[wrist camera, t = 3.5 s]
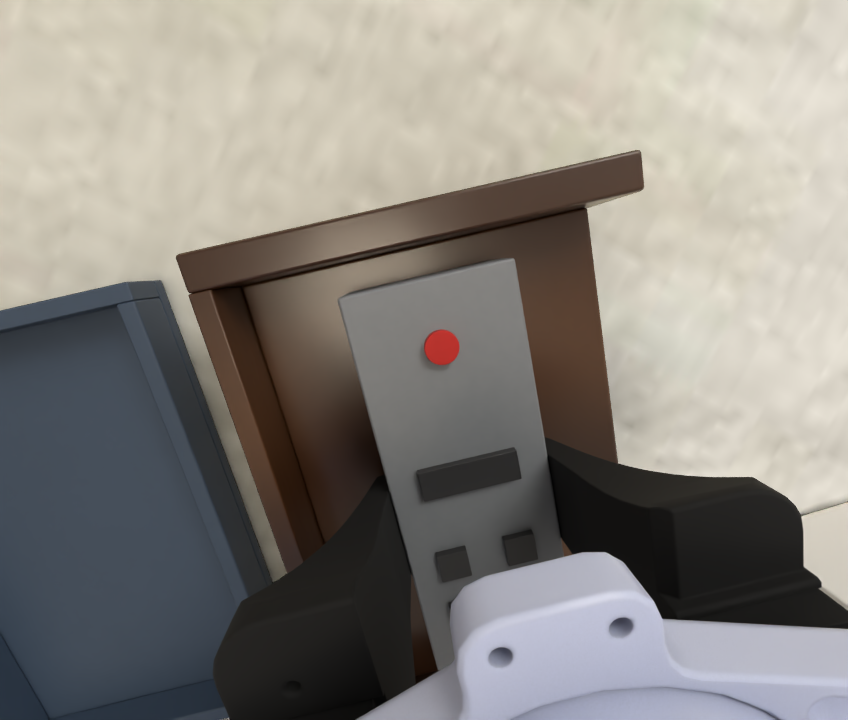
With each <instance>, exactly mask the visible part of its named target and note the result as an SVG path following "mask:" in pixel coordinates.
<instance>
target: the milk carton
mask: <svg viewBox="0 0 848 720" xmlns="http://www.w3.org/2000/svg"><path fill="white" fill-rule="evenodd" d="M801 518H802V524H803V538H804V567H805V568H806V569H807V570H809V571H810V572H812V573H813V574H814V575H816V576H817V577H818V578H819V579H820V581H821V582H822V588H819V589H820V590H821V591H823V592H824V593H825V594H827V595H828V596H829V597H831V598H832V599H833V600H835V601H836V602H837V603H838V604H840V605H841V606H842V607H844V608H845V609H846V610H848V502H847V503H844V504H840V505H837V506H833V507H830V508H827V509H823V510H820V511H817V512H813V513H810V514H807V515H803V516H801Z"/></svg>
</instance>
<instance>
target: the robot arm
mask: <svg viewBox="0 0 848 720" xmlns="http://www.w3.org/2000/svg"><path fill="white" fill-rule="evenodd" d="M544 438H545V444H546V450H547V456H548V462H549V468H550V474H551V480H552V486H553V492H554V498H555V504H556V510H557V516H558V523H559V529H560V535H561V538H562V540H563V541H564V543H565V544H566V546H567V547H568V548H569V550H570V551H571V553H572V554H573V555H570V556H565V557H561V558H557V559H553V560H549V561H545V562H541V563H537V564H533V565H528V566H524V567H520V568H516V569H512V570H508V571H504V572H500V573H496V574H491V575H487V576H484V577H482V578H480V579H478V580H476V581H474V582H472V583H470V584H468V585H466V586H464V587H463V588H462V590H461V591H460V593H459V594H458V595H457V597H456V598H455V599H454V601H453V602H452V603H451V610H450V630H451V637H452V643H453V650H454V657H455V659H454V661H453V662H452V664H450V665H448V666H447V667H445V668H443V669H441V670H440V671H438V672H436V673H435V674H433V675H431V676H429V677H428V678H426V679H424V680H423V681H421V682H419V683H417V684H416V681H415V670H414V659H413V647H412V635H411V569H410V566H409V562H408V558H407V555H406V551H405V547H404V544H403V540H402V536H401V532H400V529H399V525H398V521H397V518H396V514H395V510H394V507H393V503H392V499H391V496H390V492H389V488H388V485H387V481H386V477H385V475H382V476H378V477H377V478H376V480H375V481H374V483H373V484H372V486H371V487H370V489H369V490H368V492H367V493H366V495H365V496H364V498H363V499H362V501H361V502H360V504H359V505H358V506H357V508H356V509H355V510H354V512H353V513H352V514H351V515H350V517H349V518H348V519H347V520H346V522H345V523H344V524H343V525H342V527H341V528H340V529H339V530H338V531H337V532H336V533H335V534H334V535H333V536H332V537H331V538H330V539H329V540H328V541H327V542H326V543H325V544H324V545H323V546H322V547H321V548H320V549H318V550H317V551H316V552H315V553H314V554H312V555H311V556H310V557H309V558H308V559H307V560H305V561H304V562H303V563H302V564H300V565H299V566H298V567H296V568H295V569H294V570H292V571H291V572H289V573H288V574H286V575H285V576H283V577H282V578H280V579H279V580H277V581H276V582H274V583H273V584H271V585H269V586H267V587H266V588H264V589H262V590H260V591H259V592H257V593H255V594H253V595H252V596H250V597H248V598H246V599H244V600H242V601H241V603H240V605H239V606H238V608H237V610H236V612H235V614H234V616H233V618H232V620H231V623H230V625H229V627H228V629H227V631H226V634H225V636H224V638H223V640H222V642H221V645H220V647H219V649H218V651H217V654H216V656H215V658H214V663H213V678H214V681H215V685H216V688H217V691H218V693H219V695H220V698H221V700H222V702H223V704H224V707H225V709H226V711H227V714H228V716H229V718H230V720H848V610H846V609H845V608H844V607H842V606H841V605H840V604H838V603H837V602H836V601H835V600H833V599H832V598H831V597H829V596H828V595H827V594H825V593H824V592H823V591H821V590H820V589H819V588H822V582H821V581H820V579H819V578H818V577H817V576H816V575H814V574H813V573H812V572H810V571H809V570H807V569H806V568H805V567H804V538H803V524H802V518H801V515H800V513H799V511H798V510H797V508H796V506H795V505H794V504H793V503H792V502H791V501H790V500H789V499H788V498H787V497H786V496H784V495H782V494H780V493H779V492H777V491H775V490H774V489H772V488H770V487H768V486H767V485H765V484H763V483H762V482H760V481H758V480H757V479H755V478H753V477H698V476H684V475H674V474H667V473H660V472H653V471H648V470H642V469H638V468H633V467H629V466H625V465H621V464H617V463H614V462H610V461H607V460H604V459H601V458H598V457H595V456H592V455H590V454H587V453H584V452H582V451H579V450H577V449H574V448H572V447H569V446H567V445H564V444H562V443H560V442H557V441H555V440H552V439H549V438H546V437H544Z"/></svg>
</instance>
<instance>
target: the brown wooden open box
mask: <svg viewBox="0 0 848 720" xmlns="http://www.w3.org/2000/svg"><path fill="white" fill-rule="evenodd" d="M643 189H644V180H643V169H642V158H641V152H640V151H639V150H635V151H630V152H626V153H621V154H617V155H613V156H608V157H604V158H599V159H595V160H591V161H586V162H582V163H577V164H573V165H569V166H564V167H560V168H555V169H551V170H547V171H542V172H538V173H533V174H529V175H525V176H520V177H516V178H511V179H507V180H503V181H498V182H494V183H489V184H485V185H481V186H476V187H472V188H467V189H463V190H459V191H454V192H450V193H445V194H441V195H436V196H432V197H428V198H423V199H419V200H414V201H410V202H406V203H401V204H397V205H392V206H388V207H384V208H379V209H375V210H370V211H366V212H362V213H357V214H353V215H348V216H344V217H340V218H335V219H331V220H326V221H322V222H318V223H313V224H309V225H304V226H300V227H296V228H291V229H287V230H282V231H278V232H274V233H269V234H265V235H260V236H256V237H252V238H247V239H243V240H238V241H234V242H230V243H225V244H221V245H216V246H212V247H208V248H203V249H199V250H194V251H190V252H186V253H181V254H178V255H177V256H176V260H177V262H178V265H179V268H180V271H181V274H182V276H183V279H184V282H185V285H186V288H187V290H188V292H189V293H192V294H190V295H189V298H190V301H191V304H192V307H193V310H194V313H195V315H196V318H197V321H198V324H199V327H200V329H201V332H202V335H203V338H204V341H205V343H206V346H207V349H208V352H209V355H210V358H211V360H212V363H213V366H214V369H215V372H216V374H217V377H218V380H219V383H220V386H221V388H222V391H223V394H224V397H225V400H226V403H227V405H228V408H229V411H230V414H231V417H232V419H233V422H234V425H235V428H236V431H237V433H238V436H239V439H240V442H241V445H242V448H243V450H244V453H245V456H246V459H247V462H248V464H249V467H250V470H251V473H252V476H253V478H254V481H255V484H256V487H257V490H258V493H259V495H260V498H261V501H262V504H263V507H264V509H265V512H266V515H267V518H268V521H269V523H270V526H271V529H272V532H273V535H274V538H275V540H276V543H277V546H278V549H279V552H280V554H281V557H282V560H283V563H284V566H285V568H286V571H287V574H288V573H289V572H291V571H292V570H294V569H295V568H296V567H298V566H299V565H300V564H302V563H303V562H304V561H305V560H307V559H308V558H309V557H310V556H311V555H312V554H314V553H315V552H316V551H317V550H318V549H320V548H321V547H322V546H323V545H324V544H325V543H326V542H327V541H328V540H329V539H330V538H331V537H332V536H333V535H334V534H335V533H336V532H337V531H338V530H339V529H340V528H341V527H342V525H343V524H344V523H345V522H346V520H347V519H348V518H349V517H350V515H351V514H352V513H353V512H354V510H355V509H356V508H357V506H358V505H359V504H360V502H361V501H362V499H363V498H364V496H365V495H366V493H367V492H368V490H369V489H370V487H371V486H372V484H373V483H374V481H375V480H376V478H377V477H378V476H382V475H385V474H384V470H383V466H382V463H381V459H380V455H379V451H378V448H377V444H376V440H375V437H374V433H373V429H372V426H371V422H370V418H369V415H368V411H367V407H366V404H365V400H364V396H363V393H362V389H361V385H360V381H359V378H358V374H357V370H356V367H355V363H354V359H353V356H352V352H351V348H350V345H349V341H348V337H347V334H346V330H345V326H344V323H343V319H342V315H341V312H340V308H339V304H338V299H339V298H340V297H342V296H344V295H346V294H348V293H350V292H353V291H358V290H362V289H366V288H371V287H375V286H379V285H384V284H388V283H393V282H397V281H401V280H406V279H410V278H414V277H419V276H423V275H427V274H432V273H436V272H440V271H445V270H449V269H453V268H458V267H462V266H466V265H471V264H475V263H479V262H484V261H488V260H494V259H505V258H514V260H515V264H516V270H517V276H518V282H519V288H520V294H521V300H522V306H523V312H524V318H525V324H526V330H527V336H528V342H529V348H530V354H531V360H532V366H533V372H534V378H535V384H536V390H537V396H538V402H539V408H540V414H541V420H542V426H543V432H544V437H546V438H549V439H552V440H555V441H557V442H560V443H562V444H564V445H567V446H569V447H572V448H574V449H577V450H579V451H582V452H584V453H587V454H590V455H592V456H595V457H598V458H601V459H604V460H607V461H610V462H614V463H617V464H618V459H617V451H616V443H615V435H614V427H613V418H612V410H611V402H610V394H609V386H608V378H607V369H606V361H605V353H604V345H603V337H602V329H601V320H600V312H599V304H598V296H597V288H596V280H595V272H594V263H593V255H592V247H591V239H590V231H589V223H588V214H587V209H586V208H589V207H592V206H595V205H598V204H602V203H605V202H608V201H611V200H614V199H617V198H621V197H624V196H627V195H630V194H633V193H636V192H639V191H641V190H643ZM561 541H562V547H563V553H564V557H565V556H570V555H573V554H572V553H571V551H570V550H569V548H568V547H567V546H566V544H565V543H564V541H563V540H562V538H561ZM411 635H412V647H413V659H414V670H415V681H416V684H417V683H419V682H421V681H423V680H424V679H426V678H428V677H429V676H431V675H433V674H435V673H436V672H438V669H437V665H436V661H435V658H434V654H433V650H432V647H431V643H430V639H429V636H428V632H427V628H426V625H425V621H424V617H423V614H422V610H421V606H420V602H419V599H418V595H417V591H416V588H415V584H414V580H413V577H412V573H411Z"/></svg>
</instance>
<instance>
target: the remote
mask: <svg viewBox="0 0 848 720" xmlns="http://www.w3.org/2000/svg"><path fill="white" fill-rule="evenodd" d="M338 304H339V308H340V312H341V315H342V319H343V323H344V326H345V330H346V334H347V337H348V341H349V345H350V348H351V352H352V356H353V359H354V363H355V367H356V370H357V374H358V378H359V381H360V385H361V389H362V393H363V396H364V400H365V404H366V407H367V411H368V415H369V418H370V422H371V426H372V429H373V433H374V437H375V440H376V444H377V448H378V451H379V455H380V459H381V463H382V466H383V470H384V474H385V477H386V481H387V485H388V488H389V492H390V496H391V499H392V503H393V507H394V510H395V514H396V518H397V521H398V525H399V529H400V532H401V536H402V540H403V544H404V547H405V551H406V555H407V558H408V562H409V566H410V569H411V573H412V577H413V580H414V584H415V588H416V591H417V595H418V599H419V602H420V606H421V610H422V614H423V617H424V621H425V625H426V628H427V632H428V636H429V639H430V643H431V647H432V650H433V654H434V658H435V661H436V665H437V669H438V671H440V670H441V669H443V668H445V667H447V666H448V665H450V664H452V662H453V661H454V659H455V657H454V650H453V643H452V637H451V630H450V610H451V603H452V602H453V601H454V599H455V598H456V597H457V595H458V594H459V593H460V591H461V590H462V588H463V587H464V586H466V585H468V584H470V583H472V582H474V581H476V580H478V579H480V578H482V577H484V576H487V575H491V574H496V573H500V572H504V571H508V570H512V569H516V568H520V567H524V566H528V565H533V564H537V563H541V562H545V561H549V560H553V559H557V558H561V557H564V553H563V547H562V541H561V535H560V529H559V523H558V516H557V510H556V504H555V498H554V492H553V486H552V480H551V474H550V468H549V462H548V456H547V450H546V444H545V438H544V432H543V426H542V420H541V414H540V408H539V402H538V396H537V390H536V384H535V378H534V372H533V366H532V360H531V354H530V348H529V342H528V336H527V330H526V324H525V318H524V312H523V306H522V300H521V294H520V288H519V282H518V276H517V270H516V264H515V260H514V258H505V259H494V260H488V261H484V262H479V263H475V264H471V265H466V266H462V267H458V268H453V269H449V270H445V271H440V272H436V273H432V274H427V275H423V276H419V277H414V278H410V279H406V280H401V281H397V282H393V283H388V284H384V285H379V286H375V287H371V288H366V289H362V290H358V291H353V292H350V293H348V294H346V295H344V296H342V297H340V298H339V299H338Z"/></svg>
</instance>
